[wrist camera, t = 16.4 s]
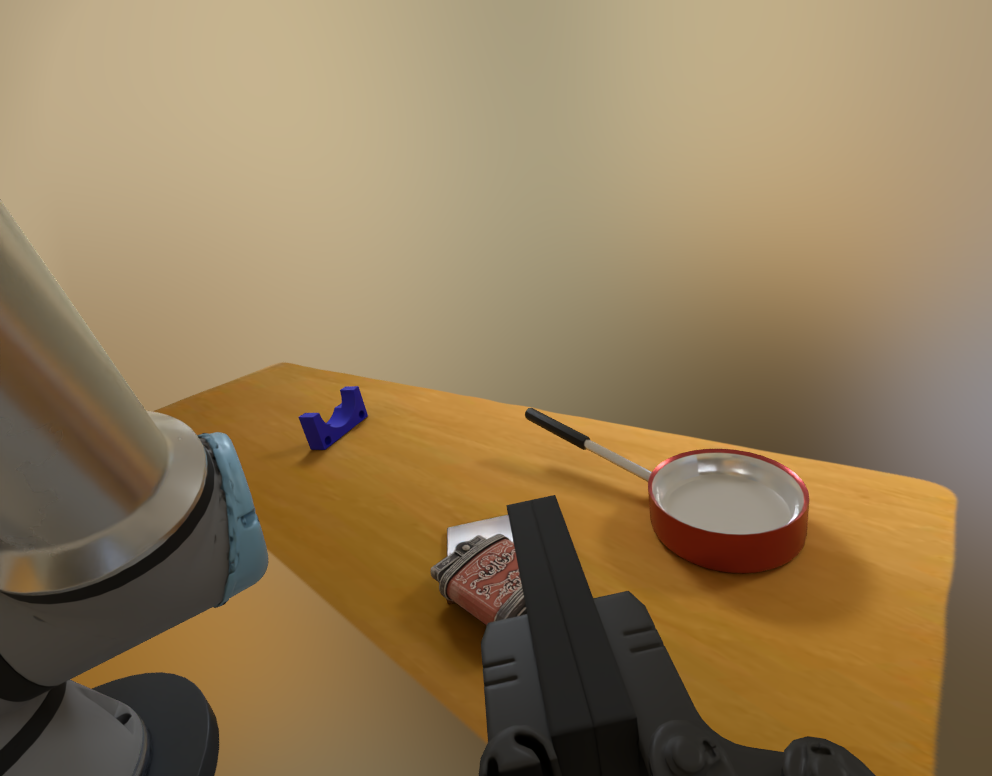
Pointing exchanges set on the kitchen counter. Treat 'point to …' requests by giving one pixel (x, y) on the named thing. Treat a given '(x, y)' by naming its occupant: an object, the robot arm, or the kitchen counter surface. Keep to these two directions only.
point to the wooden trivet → (477, 532)
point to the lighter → (483, 578)
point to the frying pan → (716, 504)
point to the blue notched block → (334, 420)
